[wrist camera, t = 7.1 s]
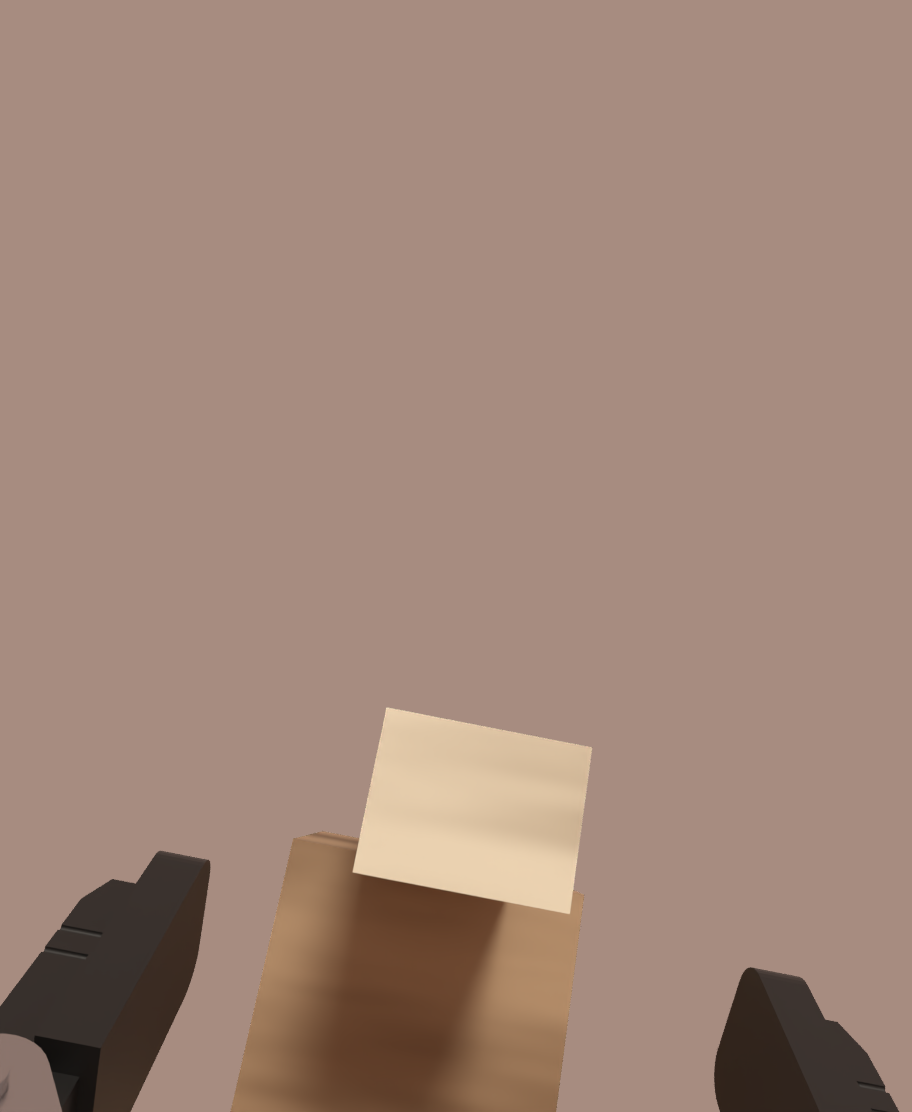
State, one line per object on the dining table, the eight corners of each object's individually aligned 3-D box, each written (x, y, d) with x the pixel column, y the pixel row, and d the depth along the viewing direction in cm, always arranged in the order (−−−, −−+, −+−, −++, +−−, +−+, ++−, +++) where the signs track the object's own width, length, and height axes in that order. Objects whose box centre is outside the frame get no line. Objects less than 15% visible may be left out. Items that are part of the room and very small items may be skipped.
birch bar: (375, 839, 35) (390, 764, 35) (472, 858, 35) (485, 783, 35) (352, 872, 15) (386, 707, 16) (569, 914, 15) (592, 747, 16)
